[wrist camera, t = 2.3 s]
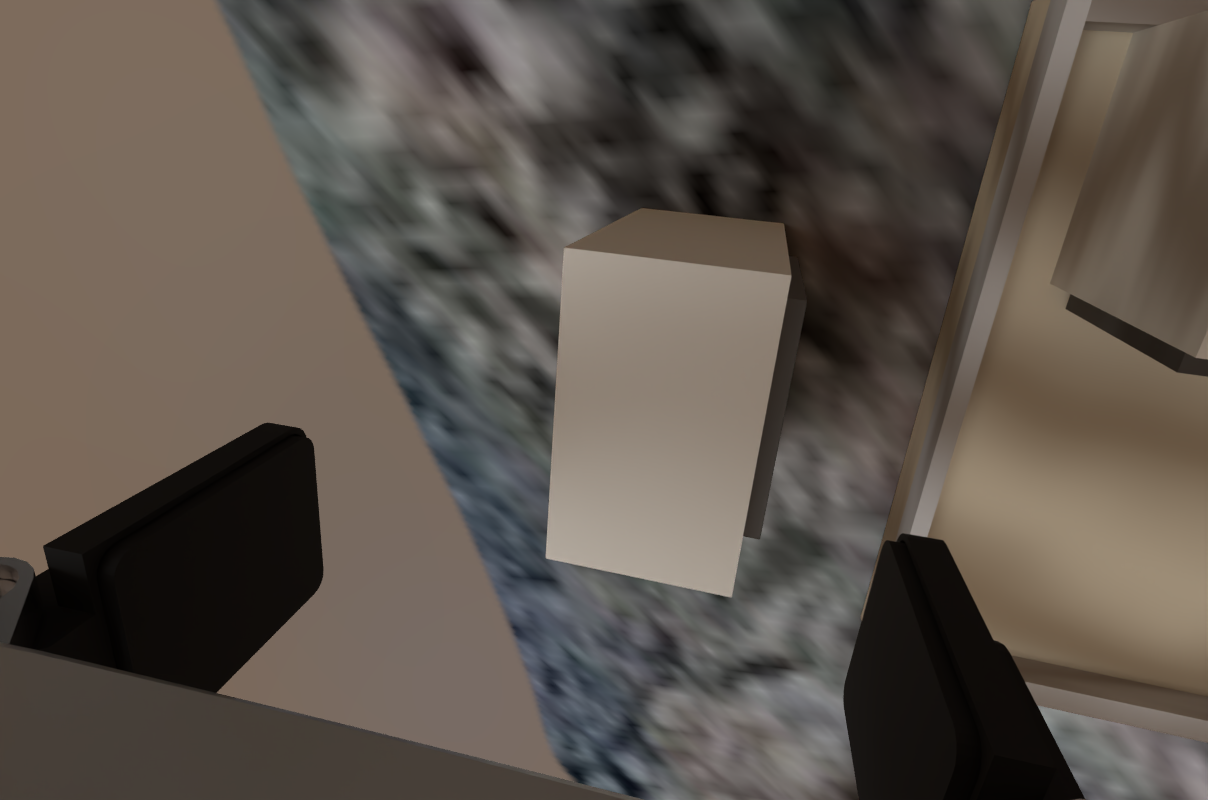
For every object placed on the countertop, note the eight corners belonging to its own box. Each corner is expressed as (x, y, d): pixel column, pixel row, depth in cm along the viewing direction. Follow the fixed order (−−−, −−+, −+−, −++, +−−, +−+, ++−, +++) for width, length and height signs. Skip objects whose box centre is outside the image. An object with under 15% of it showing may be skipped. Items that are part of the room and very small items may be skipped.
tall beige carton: (800, 225, 21) (818, 279, 13) (759, 443, 24) (753, 602, 16) (642, 208, 22) (563, 247, 14) (621, 420, 25) (545, 558, 16)
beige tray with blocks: (1031, 2, 18) (1234, -107, 10) (1545, 26, 16) (2296, -85, 8) (860, 616, 25) (900, 827, 17) (1194, 686, 23) (1405, 959, 15)
